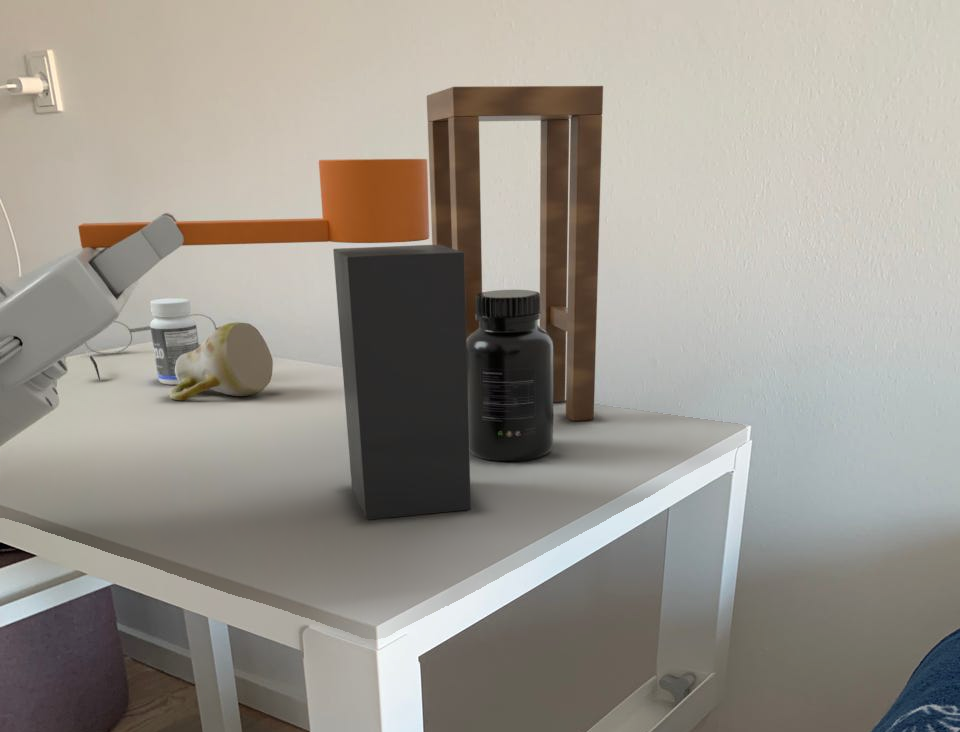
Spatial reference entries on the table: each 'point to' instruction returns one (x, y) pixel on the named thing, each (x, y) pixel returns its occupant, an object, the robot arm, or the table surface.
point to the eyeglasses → (130, 340)
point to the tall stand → (461, 211)
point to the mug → (225, 364)
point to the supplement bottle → (509, 378)
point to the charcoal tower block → (405, 377)
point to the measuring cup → (345, 208)
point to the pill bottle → (171, 335)
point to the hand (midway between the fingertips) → (178, 224)
